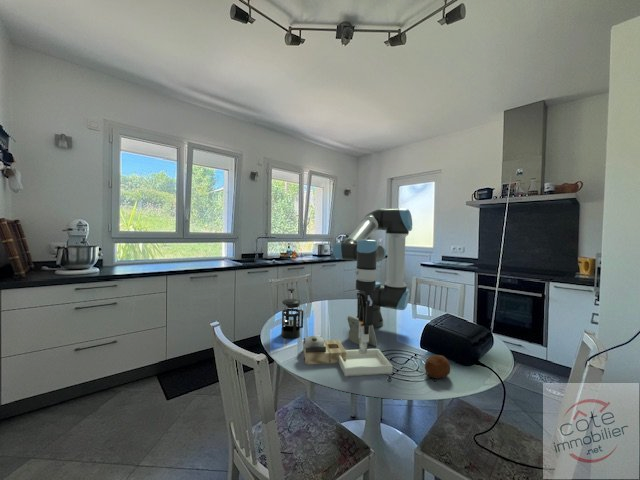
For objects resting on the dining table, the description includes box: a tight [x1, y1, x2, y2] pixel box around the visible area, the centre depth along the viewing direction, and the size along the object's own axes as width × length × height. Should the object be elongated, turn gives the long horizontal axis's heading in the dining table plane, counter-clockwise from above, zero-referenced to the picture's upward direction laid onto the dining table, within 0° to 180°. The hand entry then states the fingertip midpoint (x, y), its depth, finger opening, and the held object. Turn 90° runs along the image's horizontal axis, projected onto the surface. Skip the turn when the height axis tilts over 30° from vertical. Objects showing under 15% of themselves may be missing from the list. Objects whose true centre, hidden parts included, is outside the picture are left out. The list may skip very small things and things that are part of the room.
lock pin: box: [358, 321, 368, 354], centre depth 102 cm, size 3×3×12 cm
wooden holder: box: [302, 335, 346, 365], centre depth 109 cm, size 16×12×8 cm
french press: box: [280, 288, 304, 340], centre depth 130 cm, size 12×9×23 cm
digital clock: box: [347, 315, 378, 347], centre depth 125 cm, size 16×9×11 cm, turn 25°
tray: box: [338, 348, 394, 378], centre depth 103 cm, size 18×14×3 cm
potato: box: [424, 354, 451, 379], centre depth 97 cm, size 8×11×8 cm
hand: (363, 339), depth 102 cm, fingers closed on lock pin, 3 cm apart
